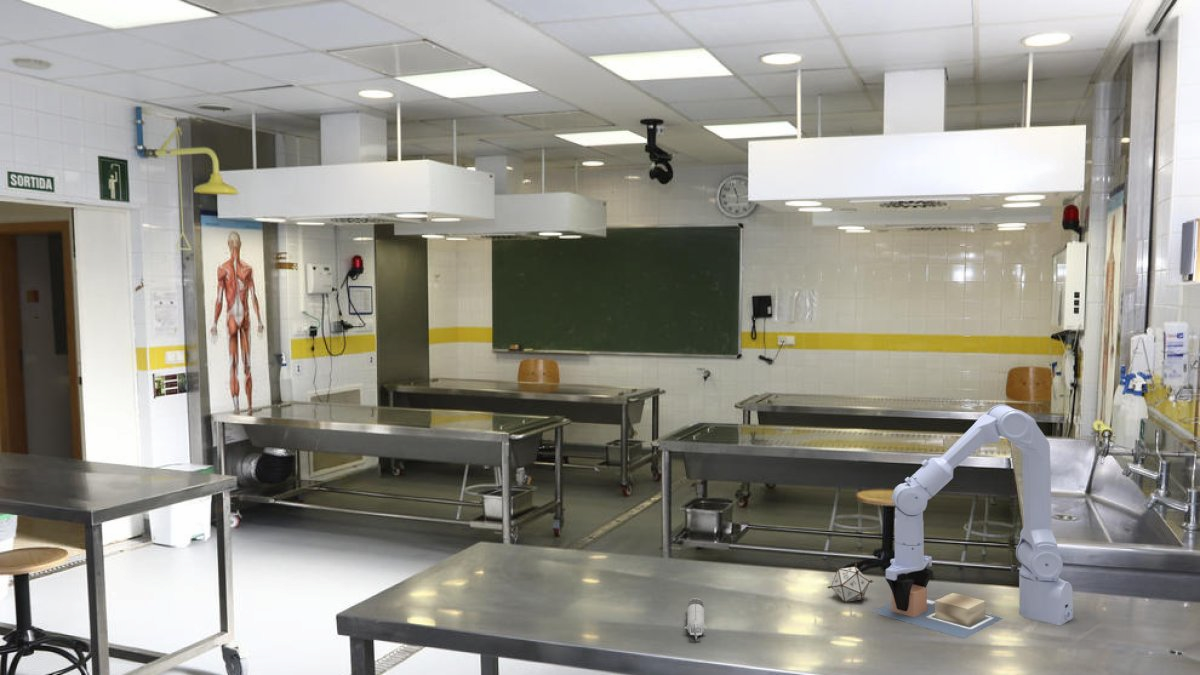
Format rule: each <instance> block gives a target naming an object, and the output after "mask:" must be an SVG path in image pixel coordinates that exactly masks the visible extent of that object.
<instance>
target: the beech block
mask: <svg viewBox="0 0 1200 675" xmlns="http://www.w3.org/2000/svg"><path fill="white" fill-rule="evenodd" d="M934 600H935V618H939V619H943V620H946V621H950V622H953V623H957V624H961V625H964V626H970V625H972V624H974V623H976V622H978V621H980V620H982V619H984V618H985V613H986V600H983V599H978V598H976V597H971V596H967V595H962V594H959V593H954V592H952V593H949V594H947V595H945V596H942V597H941V598H937V599H934Z"/></svg>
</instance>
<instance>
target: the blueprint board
mask: <svg viewBox="0 0 1200 675" xmlns="http://www.w3.org/2000/svg"><path fill="white" fill-rule="evenodd" d="M935 600H936V599H931V598H928V597H927V612H925V613H922V614H920V615H918V616H916V617H911V616H908V615H904V614H900V613H897V612H893V611H892V603H891V604H888V605H886V606H884V607H881V608H879V609H875V610H874V611H872V612H871V613H874V614H877V615H880V616H884V617H886V618H890V619H894V620H898V621H901V622H904V623H908V624H911V625H914V626H918V627H922V628H925V629H929V630H932V631H935V632H939V633H943V634H946V635H949V636H954V637H955V638H959V639H966V638H968V637H970V636H971V635H974V634H976V633H977V632H980V631H981V630H983V629H985V628H987V627H989V626H991V625H994V624H995V623H997V622H999V621H1000V620H1003V619H1004V618H1003V617H1001V616H997V615H993V614H989V613H986V612H985V618H984V619H982V620H980V621H978V622H976V623H974V624H972V625H970V626H964V625H961V624H957V623H953V622H950V621H946V620H943V619H939V618H935Z"/></svg>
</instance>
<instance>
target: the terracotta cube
mask: <svg viewBox="0 0 1200 675" xmlns="http://www.w3.org/2000/svg"><path fill="white" fill-rule="evenodd" d="M927 589H928V588H927V587H922V586H918V585H914V584H913V585H912V587H911V591H910V596H909V606H908V610H907V611H903V610H899V609H897V607H896V603H895V599H894V596H893V593H892V592H891V604H892V611H893V612H897V613H900V614H904V615H908V616H911V617H916V616H918V615H920V614H922V613H925V612H927V598H928V590H927Z"/></svg>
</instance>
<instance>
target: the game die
mask: <svg viewBox="0 0 1200 675" xmlns="http://www.w3.org/2000/svg"><path fill="white" fill-rule="evenodd" d="M835 569H837V571H836V573H835V576H834V578H833V581H832V583H831V585H828V586H827V589H832V590H833V591H834V592H835V594H836V595H838V596H839V598H840V599H841V600H842V601H843V603H847V602H854V601H855V602H856V601H861V600H862V601H863V599H864V596H865V594H866V592H867V590H868V587H869V585H870V583H873V582H874V580H873V579H870V580H869V579H868V578H867V577H866V576H865V575H864V574H863V573H862V572H861V571H860V569H858V564H857V562H856V563H855V564H854V566H851V567H849V566H848V567H841V568H839V566H838V565H835Z"/></svg>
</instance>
